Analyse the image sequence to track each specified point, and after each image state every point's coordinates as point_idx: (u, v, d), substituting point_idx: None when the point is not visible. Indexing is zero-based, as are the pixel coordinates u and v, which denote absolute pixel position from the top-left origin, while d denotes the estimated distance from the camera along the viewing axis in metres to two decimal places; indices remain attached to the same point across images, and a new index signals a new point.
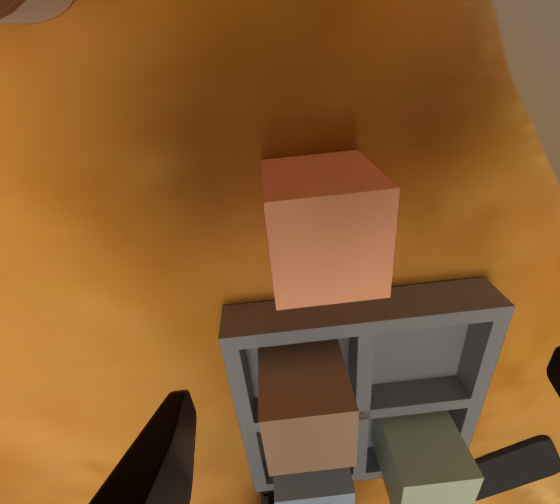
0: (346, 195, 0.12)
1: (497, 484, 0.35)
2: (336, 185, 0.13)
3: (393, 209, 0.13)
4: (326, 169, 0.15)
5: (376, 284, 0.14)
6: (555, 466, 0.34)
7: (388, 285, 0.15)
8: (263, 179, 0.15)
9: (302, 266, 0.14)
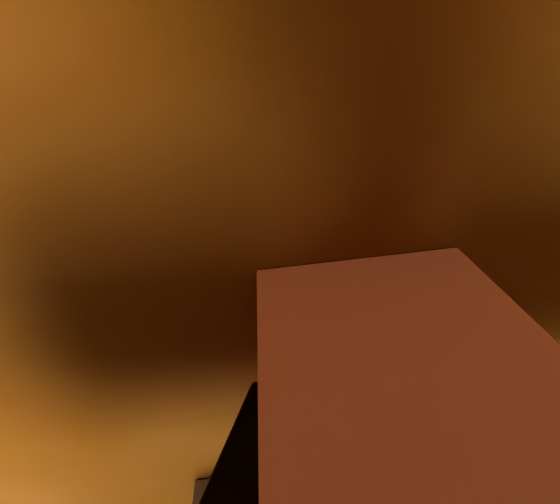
0: None
1: None
2: (499, 473, 0.04)
3: None
4: (423, 343, 0.06)
5: None
6: None
7: None
8: (262, 380, 0.06)
9: None
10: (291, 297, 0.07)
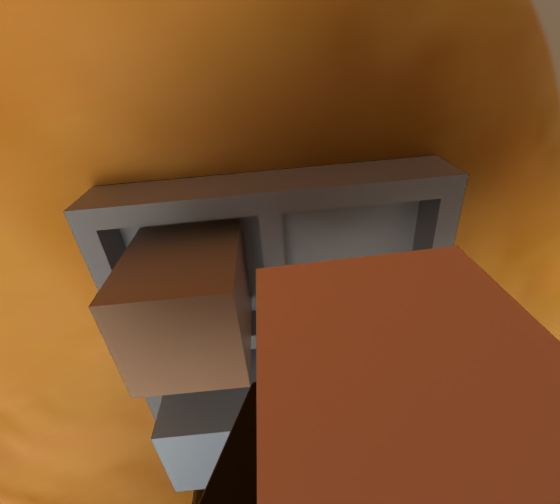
0: None
1: None
2: (499, 473, 0.04)
3: None
4: (423, 341, 0.06)
5: None
6: None
7: None
8: (261, 379, 0.05)
9: None
10: (290, 295, 0.07)
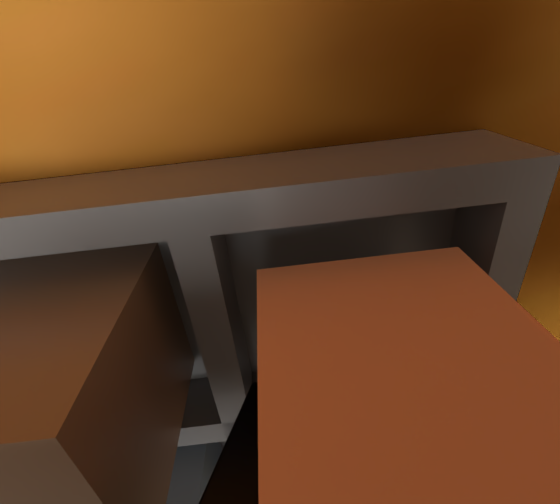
0: None
1: None
2: (500, 475, 0.04)
3: None
4: (424, 342, 0.06)
5: None
6: None
7: None
8: (262, 380, 0.05)
9: None
10: (291, 296, 0.07)
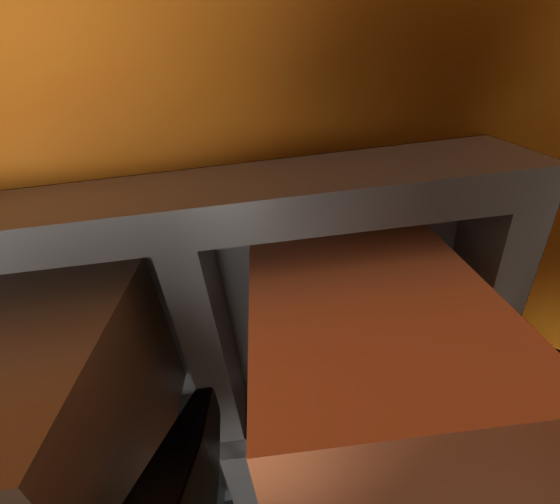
0: (473, 432, 0.05)
1: None
2: (429, 374, 0.05)
3: None
4: (385, 292, 0.07)
5: None
6: None
7: None
8: (252, 320, 0.07)
9: None
10: (278, 262, 0.09)
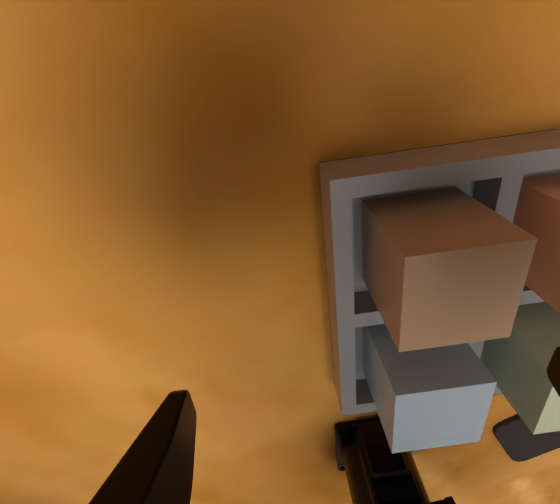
0: None
1: None
2: None
3: None
4: None
5: None
6: None
7: None
8: None
9: None
10: (543, 184, 0.17)
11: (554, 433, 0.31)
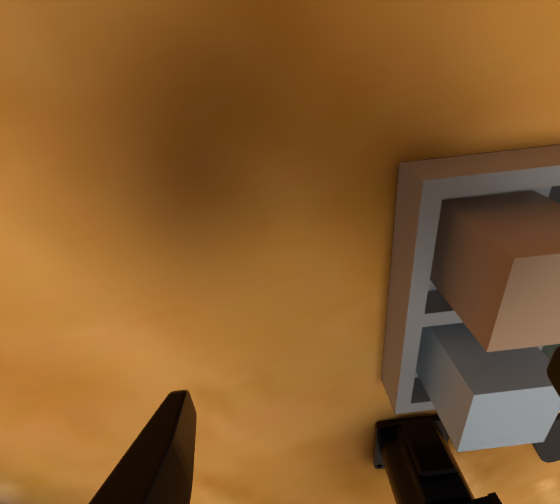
0: None
1: None
2: None
3: None
4: None
5: None
6: None
7: None
8: None
9: None
10: None
11: None
